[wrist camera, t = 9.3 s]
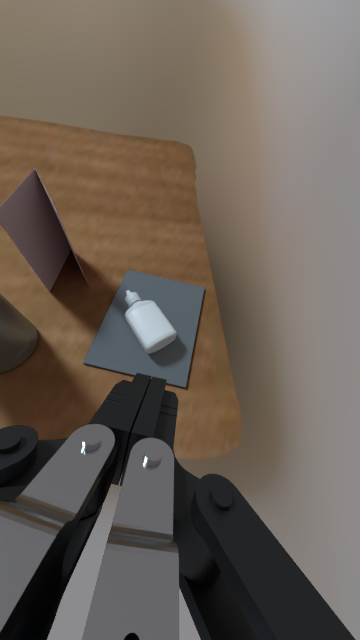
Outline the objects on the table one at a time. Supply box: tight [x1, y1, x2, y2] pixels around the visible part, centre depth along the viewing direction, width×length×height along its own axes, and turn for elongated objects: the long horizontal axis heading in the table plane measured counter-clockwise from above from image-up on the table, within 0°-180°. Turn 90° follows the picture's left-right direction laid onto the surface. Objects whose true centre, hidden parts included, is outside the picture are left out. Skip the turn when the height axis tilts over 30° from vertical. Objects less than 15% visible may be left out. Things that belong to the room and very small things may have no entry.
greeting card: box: [0, 168, 90, 292], centre depth 34 cm, size 11×7×15 cm, turn 176°
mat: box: [83, 270, 204, 388], centre depth 36 cm, size 16×20×1 cm
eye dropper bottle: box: [125, 290, 177, 354], centre depth 34 cm, size 4×6×12 cm
